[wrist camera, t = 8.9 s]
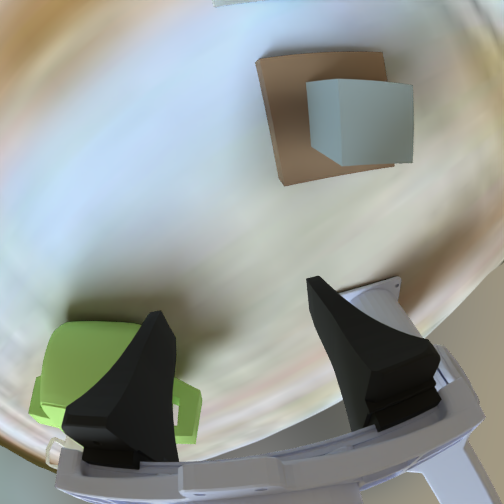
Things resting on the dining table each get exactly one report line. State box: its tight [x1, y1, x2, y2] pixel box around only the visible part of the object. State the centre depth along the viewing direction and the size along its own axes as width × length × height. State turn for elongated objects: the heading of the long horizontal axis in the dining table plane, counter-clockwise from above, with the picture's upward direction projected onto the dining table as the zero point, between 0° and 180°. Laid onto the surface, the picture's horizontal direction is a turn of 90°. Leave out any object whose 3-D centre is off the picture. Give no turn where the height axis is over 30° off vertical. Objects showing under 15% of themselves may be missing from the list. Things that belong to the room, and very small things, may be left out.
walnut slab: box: [255, 52, 395, 186], centre depth 18 cm, size 9×9×2 cm
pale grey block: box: [306, 79, 414, 166], centre depth 15 cm, size 4×4×6 cm
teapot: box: [29, 321, 202, 449], centre depth 25 cm, size 18×20×13 cm
